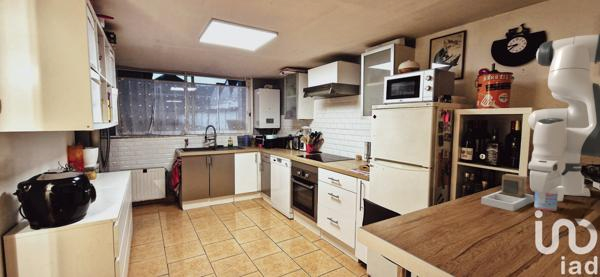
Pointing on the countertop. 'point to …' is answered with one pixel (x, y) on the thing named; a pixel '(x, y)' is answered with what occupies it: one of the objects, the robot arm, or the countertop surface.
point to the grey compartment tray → (506, 201)
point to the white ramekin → (560, 192)
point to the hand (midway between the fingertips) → (545, 200)
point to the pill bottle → (548, 200)
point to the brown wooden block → (513, 185)
